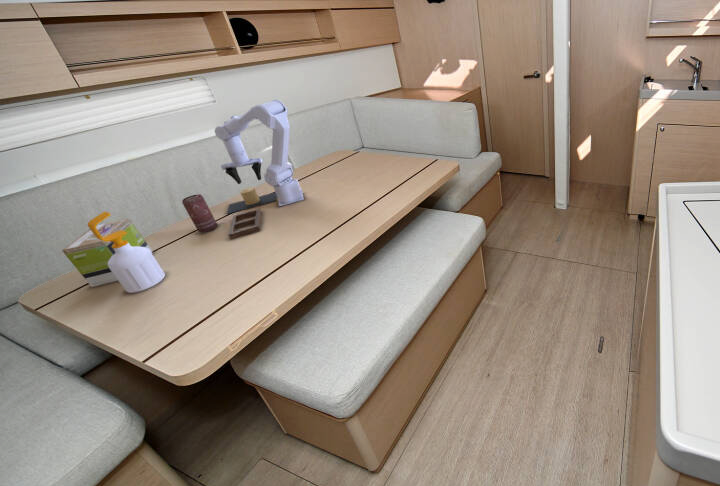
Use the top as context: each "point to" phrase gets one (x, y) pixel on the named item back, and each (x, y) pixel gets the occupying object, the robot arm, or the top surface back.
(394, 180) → the top surface
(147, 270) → the soap bottle
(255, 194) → the yellow wooden cylinder
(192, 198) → the can
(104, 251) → the tea box
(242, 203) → the mat
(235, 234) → the holder
